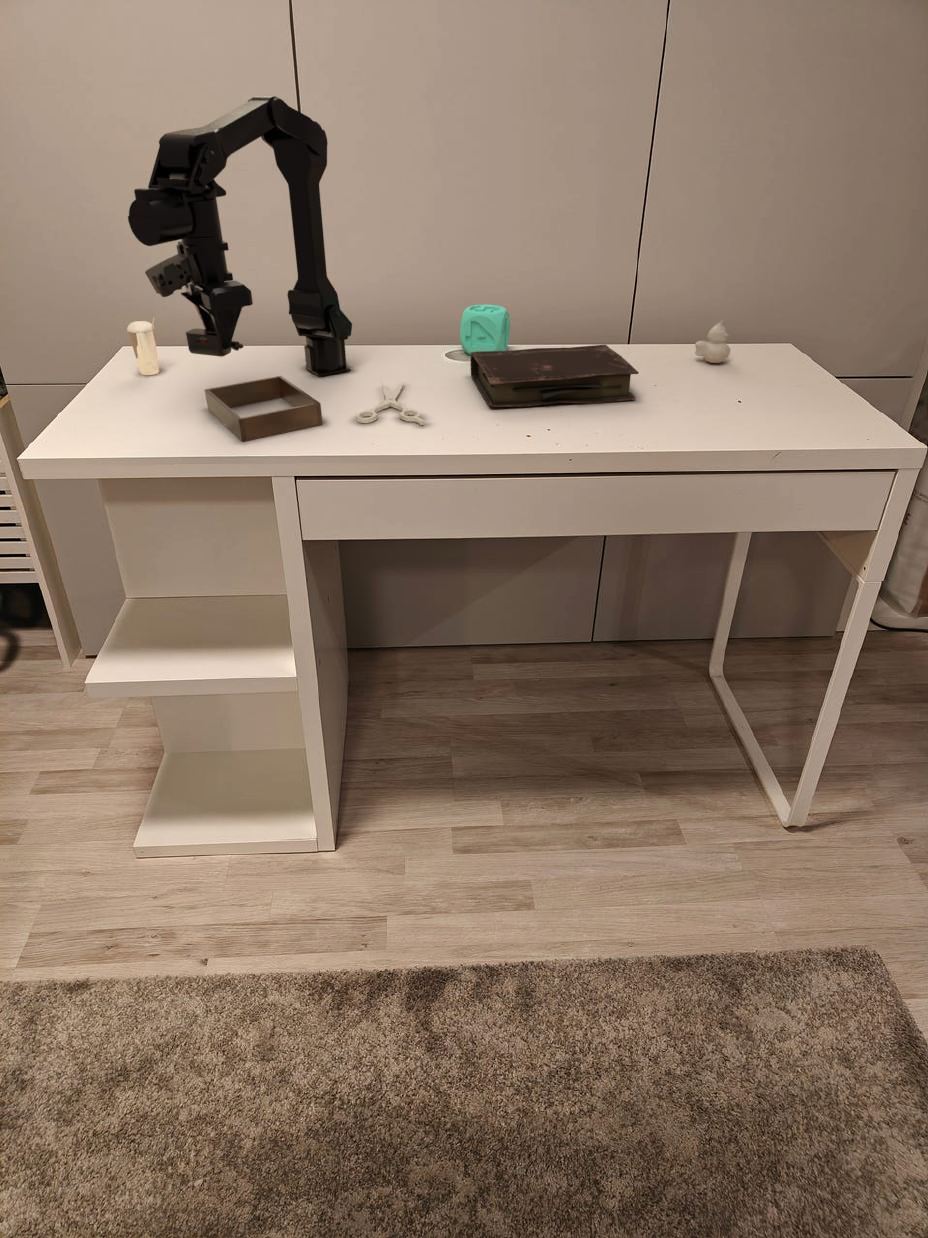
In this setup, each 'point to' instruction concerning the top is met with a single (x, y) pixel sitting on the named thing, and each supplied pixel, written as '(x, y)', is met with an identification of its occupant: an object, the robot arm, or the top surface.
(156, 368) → the milkshake
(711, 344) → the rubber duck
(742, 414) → the top surface
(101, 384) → the top surface
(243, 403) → the desk tray
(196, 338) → the black dial case
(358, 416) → the scissors
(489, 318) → the decorative dice
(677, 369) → the top surface
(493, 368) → the diary
